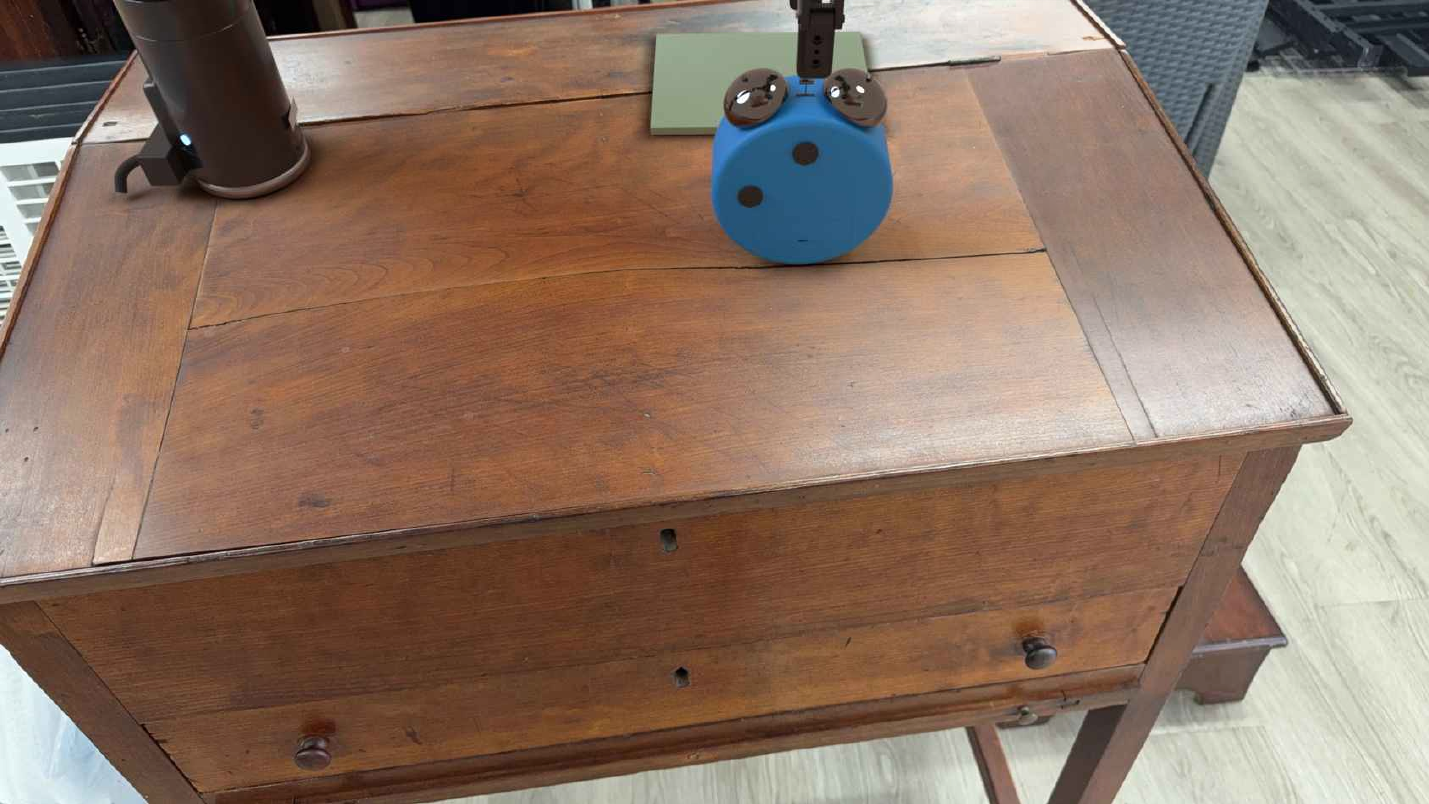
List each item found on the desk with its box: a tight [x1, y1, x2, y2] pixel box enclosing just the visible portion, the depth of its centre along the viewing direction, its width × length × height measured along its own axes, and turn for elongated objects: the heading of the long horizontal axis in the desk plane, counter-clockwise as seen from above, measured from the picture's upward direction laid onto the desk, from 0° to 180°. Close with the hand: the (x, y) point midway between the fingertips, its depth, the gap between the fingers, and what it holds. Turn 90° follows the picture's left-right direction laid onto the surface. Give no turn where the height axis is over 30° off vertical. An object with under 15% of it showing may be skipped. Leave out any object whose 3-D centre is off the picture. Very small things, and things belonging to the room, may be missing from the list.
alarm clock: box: [711, 67, 894, 265], centre depth 75 cm, size 13×6×15 cm, turn 89°
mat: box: [650, 31, 869, 136], centre depth 95 cm, size 20×16×1 cm
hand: (809, 40), depth 68 cm, fingers open, 8 cm apart
